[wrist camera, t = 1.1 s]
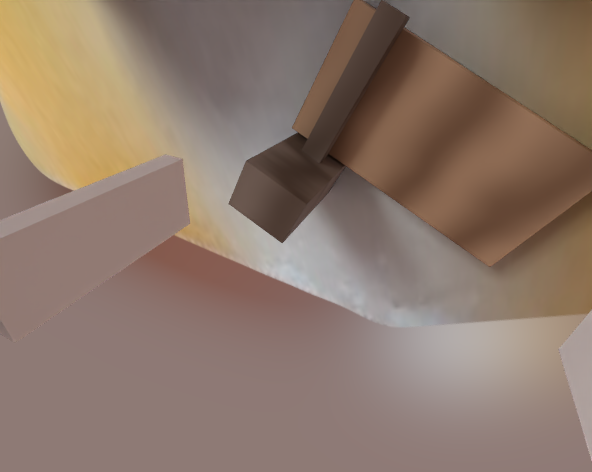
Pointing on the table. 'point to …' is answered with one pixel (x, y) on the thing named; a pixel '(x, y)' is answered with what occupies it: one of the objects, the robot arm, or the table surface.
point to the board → (450, 144)
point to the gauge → (313, 141)
